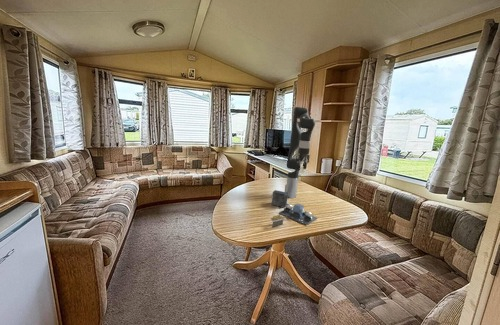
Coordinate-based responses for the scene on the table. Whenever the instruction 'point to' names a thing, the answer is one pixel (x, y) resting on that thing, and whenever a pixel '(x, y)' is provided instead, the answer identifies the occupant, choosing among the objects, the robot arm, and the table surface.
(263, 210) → the table surface
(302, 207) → the block with round knob
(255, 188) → the table surface
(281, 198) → the small box
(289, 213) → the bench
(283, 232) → the table surface
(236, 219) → the table surface
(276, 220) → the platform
